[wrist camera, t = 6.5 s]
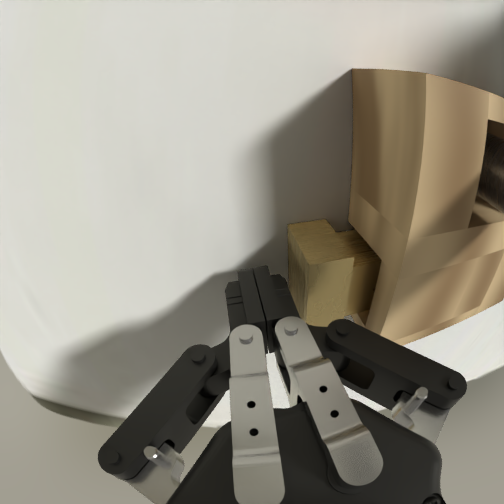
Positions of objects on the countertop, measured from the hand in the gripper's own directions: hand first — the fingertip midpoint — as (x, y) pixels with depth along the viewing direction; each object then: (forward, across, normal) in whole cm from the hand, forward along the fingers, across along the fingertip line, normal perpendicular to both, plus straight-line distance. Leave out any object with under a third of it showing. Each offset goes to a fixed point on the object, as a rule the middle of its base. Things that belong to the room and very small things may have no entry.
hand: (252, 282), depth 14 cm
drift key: (+1, -6, 0) cm, 6 cm away
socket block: (+1, -11, -3) cm, 12 cm away
